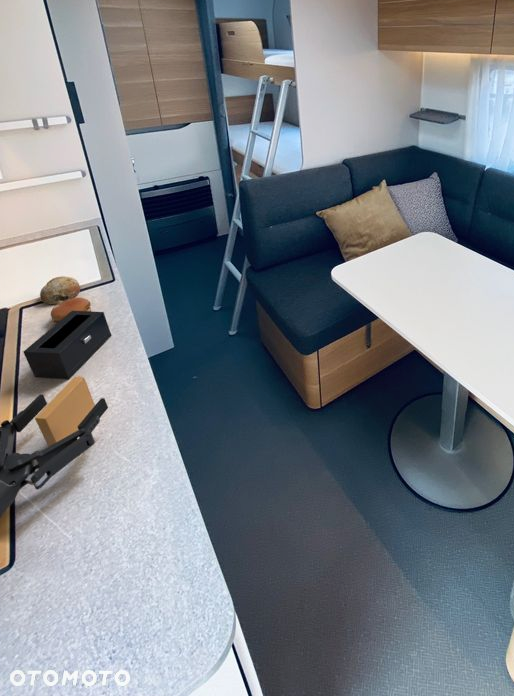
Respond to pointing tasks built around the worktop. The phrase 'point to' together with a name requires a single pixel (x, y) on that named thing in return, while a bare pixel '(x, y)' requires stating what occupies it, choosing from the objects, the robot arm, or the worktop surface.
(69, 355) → the toaster
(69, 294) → the rock
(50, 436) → the toast
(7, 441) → the robot arm
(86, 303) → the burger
